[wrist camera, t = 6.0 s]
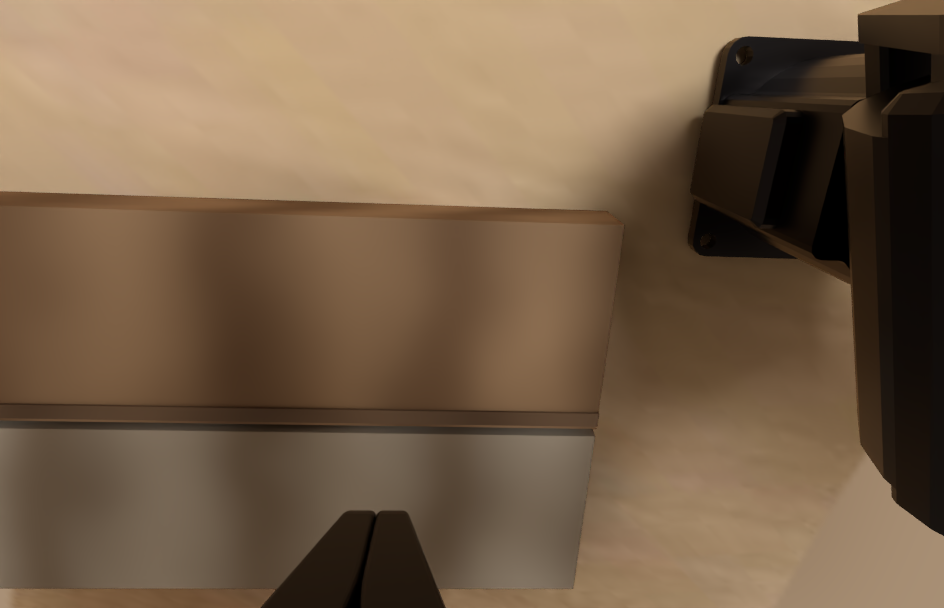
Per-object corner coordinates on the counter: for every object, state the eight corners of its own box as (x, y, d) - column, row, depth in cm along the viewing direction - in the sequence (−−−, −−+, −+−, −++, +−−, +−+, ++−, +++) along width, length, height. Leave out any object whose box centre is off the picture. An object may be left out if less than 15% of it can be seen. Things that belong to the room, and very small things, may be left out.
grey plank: (582, 404, 21) (595, 436, 19) (563, 548, 23) (573, 589, 22) (-32, 394, 20) (-82, 427, 18) (19, 546, 22) (-19, 588, 21)
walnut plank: (607, 211, 18) (625, 226, 16) (583, 398, 21) (596, 430, 19) (-99, 188, 17) (-170, 201, 15) (-34, 387, 20) (-87, 420, 18)
